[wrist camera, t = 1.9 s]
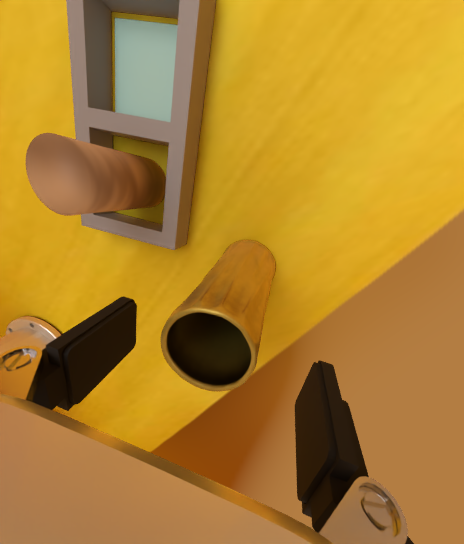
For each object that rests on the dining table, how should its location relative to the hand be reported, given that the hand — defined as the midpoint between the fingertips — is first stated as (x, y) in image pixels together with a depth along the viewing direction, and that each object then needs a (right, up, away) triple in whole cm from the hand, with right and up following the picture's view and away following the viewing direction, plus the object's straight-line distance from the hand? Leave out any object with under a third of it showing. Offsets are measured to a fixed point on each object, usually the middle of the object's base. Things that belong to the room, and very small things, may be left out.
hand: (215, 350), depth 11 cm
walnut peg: (-9, +14, +13) cm, 20 cm away
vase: (+3, +5, +13) cm, 14 cm away
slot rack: (-8, +18, +11) cm, 22 cm away
